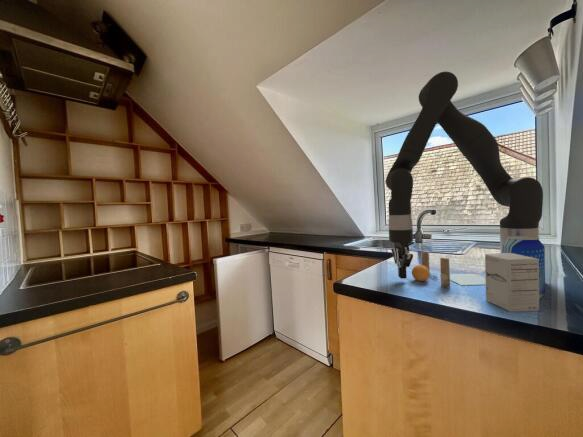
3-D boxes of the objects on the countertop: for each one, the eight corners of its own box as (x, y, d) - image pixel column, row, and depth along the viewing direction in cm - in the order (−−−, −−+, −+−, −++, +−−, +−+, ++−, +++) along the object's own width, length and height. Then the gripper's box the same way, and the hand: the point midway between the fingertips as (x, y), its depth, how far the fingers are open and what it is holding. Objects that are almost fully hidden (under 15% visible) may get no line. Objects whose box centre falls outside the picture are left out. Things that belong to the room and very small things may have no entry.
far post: (427, 274, 90) (426, 250, 90) (430, 276, 88) (430, 252, 87) (421, 274, 90) (420, 251, 90) (424, 276, 88) (423, 252, 87)
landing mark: (474, 274, 88) (474, 273, 88) (500, 284, 76) (500, 283, 76) (440, 275, 88) (440, 274, 88) (461, 285, 76) (461, 284, 76)
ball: (408, 264, 86) (410, 279, 86) (415, 268, 80) (417, 284, 80) (423, 262, 85) (425, 277, 86) (432, 266, 80) (434, 282, 80)
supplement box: (484, 300, 64) (483, 253, 64) (513, 299, 64) (512, 252, 63) (508, 312, 57) (507, 259, 56) (541, 311, 57) (540, 257, 56)
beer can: (526, 289, 71) (525, 235, 70) (555, 300, 62) (554, 238, 62) (495, 289, 71) (494, 236, 71) (519, 300, 63) (518, 239, 63)
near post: (447, 285, 78) (446, 257, 77) (451, 287, 75) (450, 258, 75) (439, 285, 78) (438, 257, 77) (443, 287, 75) (442, 259, 75)
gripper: (420, 229, 76) (422, 283, 76) (403, 226, 89) (405, 272, 90) (396, 230, 76) (398, 284, 77) (383, 227, 89) (385, 273, 90)
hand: (402, 277), depth 83 cm, fingers closed
